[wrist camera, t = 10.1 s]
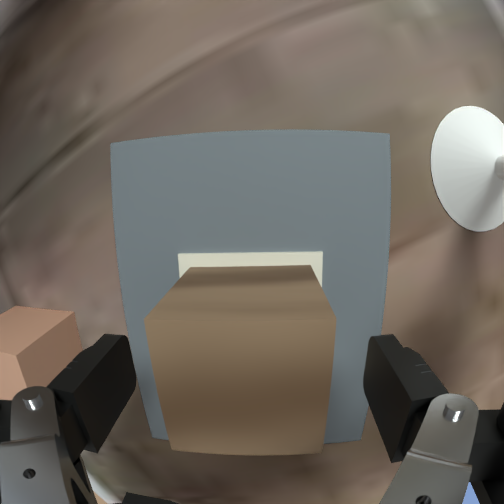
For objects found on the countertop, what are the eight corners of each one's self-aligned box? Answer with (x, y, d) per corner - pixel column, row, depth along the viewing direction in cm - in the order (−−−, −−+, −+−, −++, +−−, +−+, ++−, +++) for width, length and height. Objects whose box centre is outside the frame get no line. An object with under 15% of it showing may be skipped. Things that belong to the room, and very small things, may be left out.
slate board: (121, 145, 14) (108, 142, 13) (380, 137, 13) (391, 133, 12) (158, 425, 17) (151, 440, 16) (356, 427, 17) (361, 442, 15)
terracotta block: (16, 305, 16) (-41, 339, 11) (74, 311, 16) (16, 355, 11) (35, 372, 17) (-10, 415, 12) (92, 385, 17) (49, 439, 12)
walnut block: (190, 267, 14) (144, 319, 8) (310, 264, 13) (336, 318, 8) (200, 369, 15) (171, 449, 9) (307, 368, 14) (321, 452, 9)
